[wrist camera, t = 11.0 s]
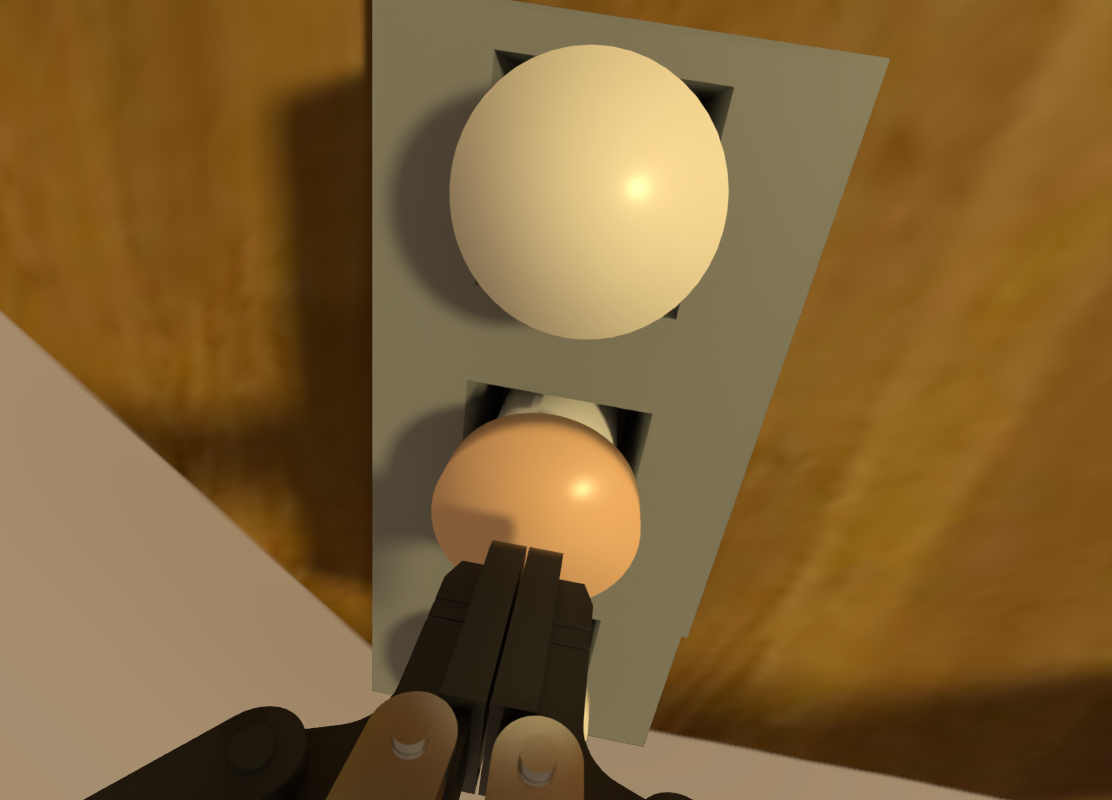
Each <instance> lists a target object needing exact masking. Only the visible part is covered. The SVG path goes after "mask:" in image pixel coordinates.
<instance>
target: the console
mask: <svg viewBox="0 0 1112 800" xmlns="http://www.w3.org/2000/svg"><path fill="white" fill-rule="evenodd" d="M578 45H603V46H613V47H617V48H621V49H625V50H630V51H633V52H635V53H638V54H640V55H642V56H645V57H647V58H650V59H652V60H653V61H655V62H657V63H658V64H660V65H662V66H663V67H665V68H667V69H668V70H669V71H670V72H672V73H673V74H674V75H675V76H677V77H678V78H679V79H680V80H681V81H683V82H684V83H685V84H686V86H687V87H688V88H689V89H690V90H691V91H692V92H693V93H694V94H695V95H696V97H697V98H698V99H699V101H700V102H701V104H702V105H703V107H704V108H705V110H706V111H707V113H708V114H709V116H710V118H711V120H712V122H713V124H714V126H715V128H716V131H717V133H718V136H719V139H720V142H721V145H722V148H723V151H724V155H725V161H726V166H727V171H728V188H729V195H728V208H727V215H726V220H725V225H724V230H723V233H722V236H721V239H720V242H719V245H718V248H717V251H716V253H715V255H714V257H713V259H712V261H711V263H710V265H709V267H708V269H707V270H706V272H705V273H704V275H703V276H702V278H701V279H700V281H699V282H698V284H697V285H696V286H695V287H694V288H693V290H692V291H691V292H690V293H689V294H688V296H686V297H685V298H684V299H683V300H682V301H681V302H680V303H679V304H678V305H677V306H676V307H675V308H673V309H672V310H671V311H669V312H668V313H667V314H665V315H664V316H663V317H661V318H660V319H658V320H656V321H654V322H652V323H651V324H649V325H647V326H645V327H643V328H640V329H638V330H635V331H633V332H630V333H627V334H623V335H619V336H616V337H611V338H603V339H582V340H580V339H572V338H564V337H560V336H555V335H551V334H548V333H545V332H542V331H540V330H537V329H534V328H532V327H530V326H528V325H526V324H524V323H523V322H521V321H519V320H517V319H516V318H514V317H513V316H511V315H510V314H509V313H507V312H506V311H504V310H503V309H502V308H501V307H500V306H499V305H498V304H496V303H495V302H494V301H493V300H492V299H491V298H490V297H489V296H488V294H487V293H486V292H485V291H484V290H483V289H482V288H481V286H480V285H479V283H478V282H477V281H476V279H475V278H474V276H473V275H472V273H471V272H470V270H469V268H468V266H467V264H466V262H465V260H464V258H463V256H462V254H461V251H460V248H459V246H458V243H457V240H456V237H455V233H454V229H453V225H452V219H451V211H450V177H451V169H452V163H453V159H454V155H455V151H456V147H457V144H458V142H459V139H460V137H461V134H462V131H463V129H464V127H465V125H466V123H467V121H468V120H469V118H470V116H471V114H472V112H473V111H474V109H475V108H476V107H477V105H478V104H479V102H480V101H481V100H482V98H483V97H484V95H485V94H486V93H487V92H488V91H489V90H490V89H491V88H492V87H493V86H494V85H495V84H496V83H497V82H498V81H499V80H500V79H501V78H503V77H504V76H505V75H506V74H508V73H509V72H510V71H512V70H513V69H514V68H516V67H517V66H519V65H521V64H523V63H524V62H526V61H528V60H530V59H531V58H534V57H536V56H539V55H541V54H544V53H546V52H549V51H551V50H556V49H560V48H564V47H569V46H578ZM889 61H890V58H884V57H878V56H871V55H865V54H858V53H852V52H845V51H838V50H832V49H825V48H819V47H812V46H806V45H799V44H793V43H786V42H780V41H773V40H767V39H760V38H753V37H747V36H740V35H734V34H727V33H721V32H714V31H708V30H701V29H695V28H688V27H682V26H675V25H668V24H662V23H655V22H649V21H642V20H636V19H629V18H623V17H616V16H610V15H603V14H597V13H590V12H583V11H577V10H570V9H564V8H557V7H551V6H544V5H538V4H531V3H525V2H518V1H512V0H372V654H373V655H372V656H373V658H372V661H373V662H372V668H373V670H372V671H373V672H372V677H373V678H372V680H373V683H372V684H373V685H372V690H373V691H376V692H381V693H386V694H391V695H393V694H394V692H395V690H396V688H397V686H398V684H399V682H400V680H401V677H402V675H403V673H404V670H405V668H406V666H407V663H408V661H409V659H410V656H411V654H412V651H413V649H414V647H415V644H416V642H417V640H418V637H419V635H420V633H421V630H422V628H423V626H424V623H425V621H426V619H427V618H428V614H429V612H430V609H431V607H432V605H433V602H435V598H436V595H437V593H438V590H439V588H440V586H441V583H442V581H443V579H444V576H445V575H447V574H448V573H449V572H450V571H451V570H452V569H453V568H454V565H453V564H452V563H451V562H450V561H449V560H448V558H447V557H446V555H445V554H444V552H443V551H442V549H441V547H440V545H439V543H438V541H437V538H436V535H435V532H434V529H433V523H432V517H431V505H432V498H433V494H434V491H435V487H436V485H437V483H438V481H439V479H440V477H441V475H442V473H443V471H444V469H445V467H446V466H447V464H448V462H449V460H450V458H451V456H452V455H453V453H454V451H455V450H456V448H457V447H458V446H459V444H460V443H461V442H462V441H463V440H464V439H465V438H466V437H467V436H468V435H469V434H470V433H472V432H473V431H474V430H476V429H477V428H479V427H480V426H482V425H484V424H486V423H488V422H490V421H493V420H495V419H497V416H498V414H499V412H500V410H501V408H502V406H503V403H504V401H505V399H506V397H507V395H508V393H509V390H510V388H513V389H519V390H524V391H530V392H535V393H541V394H546V395H552V396H557V397H563V398H568V399H574V400H579V401H585V402H590V403H596V404H601V405H607V406H612V407H618V427H617V449H618V450H619V451H620V452H621V453H622V455H623V456H624V458H625V459H626V461H627V462H628V463H629V465H630V467H631V469H632V471H633V473H634V475H635V478H636V482H637V485H638V489H639V496H640V522H641V530H640V541H639V546H638V549H637V552H636V555H635V558H634V559H633V561H632V563H631V565H630V567H629V568H628V569H627V571H626V572H625V573H624V574H623V576H622V577H621V578H620V579H619V580H618V581H616V582H615V583H614V584H613V585H612V586H610V587H609V588H608V589H606V590H605V591H603V592H601V593H599V594H597V595H595V596H593V597H591V598H590V599H591V601H592V604H593V615H592V627H591V639H590V649H589V663H588V676H587V684H588V687H589V692H590V707H589V721H588V734H587V735H588V736H593V737H598V738H603V739H608V740H612V741H617V742H622V743H627V744H632V745H637V746H642V747H644V744H645V740H646V738H647V735H648V732H649V729H650V726H651V723H652V720H653V717H654V714H655V712H656V709H657V706H658V703H659V700H660V697H661V694H662V691H663V688H664V685H665V682H666V680H667V677H668V674H669V671H670V668H671V665H672V662H673V659H674V656H675V653H676V650H677V647H678V645H679V642H680V639H681V636H682V637H688V634H689V631H690V629H691V626H692V623H693V620H694V617H695V614H696V611H697V609H698V606H699V603H700V600H701V597H702V594H703V591H704V589H705V586H706V583H707V580H708V577H709V574H710V571H711V569H712V566H713V563H714V560H715V557H716V554H717V551H718V549H719V546H720V543H721V540H722V537H723V534H724V531H725V529H726V526H727V523H728V520H729V517H730V514H731V512H732V509H733V506H734V503H735V500H736V497H737V494H738V492H739V489H740V486H741V483H742V480H743V477H744V474H745V472H746V469H747V466H748V463H749V460H750V457H751V454H752V452H753V449H754V446H755V443H756V440H757V437H758V434H759V432H760V429H761V426H762V423H763V420H764V417H765V414H766V412H767V409H768V406H769V403H770V400H771V397H772V395H773V392H774V389H775V386H776V383H777V380H778V377H779V375H780V372H781V369H782V366H783V363H784V360H785V357H786V355H787V352H788V349H789V346H790V343H791V340H792V337H793V335H794V332H795V329H796V326H797V323H798V320H799V317H800V315H801V312H802V309H803V306H804V303H805V300H806V297H807V295H808V292H809V289H810V286H811V283H812V280H813V278H814V275H815V272H816V269H817V266H818V263H819V260H820V258H821V255H822V252H823V249H824V246H825V243H826V240H827V238H828V235H829V232H830V229H831V226H832V223H833V220H834V218H835V215H836V212H837V209H838V206H839V203H840V200H841V198H842V195H843V192H844V189H845V186H846V183H847V181H848V178H849V175H850V172H851V169H852V166H853V163H854V161H855V158H856V155H857V152H858V149H859V146H860V143H861V141H862V138H863V135H864V132H865V129H866V126H867V123H868V121H869V118H870V115H871V112H872V109H873V106H874V103H875V101H876V98H877V95H878V92H879V89H880V86H881V83H882V81H883V78H884V75H885V72H886V69H887V66H888V64H889Z"/></svg>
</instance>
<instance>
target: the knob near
mask: <svg viewBox="0 0 1112 800" xmlns="http://www.w3.org/2000/svg"><path fill="white" fill-rule="evenodd" d="M728 195H729V188H728V171H727V166H726V161H725V155H724V151H723V148H722V145H721V142H720V139H719V136H718V133H717V131H716V128H715V126H714V124H713V122H712V120H711V118H710V116H709V114H708V113H707V111H706V110H705V108H704V107H703V105H702V104H701V102H700V101H699V99H698V98H697V97H696V95H695V94H694V93H693V92H692V91H691V90H690V89H689V88H688V87H687V86H686V84H685V83H684V82H683V81H681V80H680V79H679V78H678V77H677V76H675V75H674V74H673V73H672V72H670V71H669V70H668V69H667V68H665V67H663V66H662V65H660V64H658V63H657V62H655V61H653V60H652V59H650V58H647V57H645V56H642V55H640V54H638V53H635V52H633V51H630V50H625V49H621V48H617V47H613V46H603V45H578V46H569V47H564V48H560V49H556V50H551V51H549V52H546V53H544V54H541V55H539V56H536V57H534V58H531V59H530V60H528V61H526V62H524V63H523V64H521V65H519V66H517V67H516V68H514V69H513V70H512V71H510V72H509V73H508V74H506V75H505V76H504V77H503V78H501V79H500V80H499V81H498V82H497V83H496V84H495V85H494V86H493V87H492V88H491V89H490V90H489V91H488V92H487V93H486V94H485V95H484V97H483V98H482V100H481V101H480V102H479V104H478V105H477V107H476V108H475V109H474V111H473V112H472V114H471V116H470V118H469V120H468V121H467V123H466V125H465V127H464V129H463V131H462V134H461V137H460V139H459V142H458V144H457V147H456V151H455V155H454V159H453V163H452V169H451V177H450V211H451V219H452V225H453V229H454V233H455V237H456V240H457V243H458V246H459V248H460V251H461V254H462V256H463V258H464V260H465V262H466V264H467V266H468V268H469V270H470V272H471V273H472V275H473V276H474V278H475V279H476V281H477V282H478V283H479V285H480V286H481V288H482V289H483V290H484V291H485V292H486V293H487V294H488V296H489V297H490V298H491V299H492V300H493V301H494V302H495V303H496V304H498V305H499V306H500V307H501V308H502V309H503V310H504V311H506V312H507V313H509V314H510V315H511V316H513V317H514V318H516V319H517V320H519V321H521V322H523V323H524V324H526V325H528V326H530V327H532V328H534V329H537V330H540V331H542V332H545V333H548V334H551V335H555V336H560V337H564V338H572V339H580V340H582V339H603V338H611V337H616V336H619V335H623V334H627V333H630V332H633V331H635V330H638V329H640V328H643V327H645V326H647V325H649V324H651V323H652V322H654V321H656V320H658V319H660V318H661V317H663V316H664V315H665V314H667V313H668V312H669V311H671V310H672V309H673V308H675V307H676V306H677V305H678V304H679V303H680V302H681V301H682V300H683V299H684V298H685V297H686V296H688V294H689V293H690V292H691V291H692V290H693V288H694V287H695V286H696V285H697V284H698V282H699V281H700V279H701V278H702V276H703V275H704V273H705V272H706V270H707V269H708V267H709V265H710V263H711V261H712V259H713V257H714V255H715V253H716V251H717V248H718V245H719V242H720V239H721V236H722V233H723V230H724V225H725V220H726V215H727V208H728Z"/></svg>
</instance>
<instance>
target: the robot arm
mask: <svg viewBox="0 0 1112 800" xmlns="http://www.w3.org/2000/svg"><path fill="white" fill-rule="evenodd" d="M526 552H527V546H522V545H517V544H512V543H506V542H501V541H496V540H493V541H492V542H491V545H490V548H489V550H488V553H487V556H486V559H485V562H484V565H483V564H478V563H473V562H468V561H461V562H460V563H459V564H458V565H456V566H455V567H454V568H453V569H452V570H451V571H450V572H449V573H448V574H447V575H445V576H444V579H443V581H442V583H441V586H440V588H439V590H438V593H437V595H436V598H435V602H433V605H432V607H431V609H430V612H429V614H428V618H427V619H426V621H425V623H424V626H423V628H422V630H421V633H420V635H419V637H418V640H417V642H416V644H415V647H414V649H413V651H412V654H411V656H410V659H409V661H408V663H407V666H406V668H405V670H404V673H403V675H402V677H401V680H400V682H399V684H398V686H397V688H396V690H395V692H394V694H393V695H392V696H391V698H390V699H389V700H387V701H385V702H384V703H383V704H381V705H380V706H379V707H378V708H377V709H376V710H375V711H374V713H372V714H371V715H369V716H367V717H365V718H363V719H361V720H358V721H355V722H352V723H348V724H343V725H335V726H327V727H318V728H310V729H305V728H304V726H303V724H302V722H301V720H300V719H299V718H298V717H297V716H296V715H295V714H294V713H292V712H291V711H289V710H287V709H284V708H280V707H273V706H267V707H259V708H253V709H250V710H247V711H244V712H242V713H240V714H238V715H236V716H234V717H232V718H230V719H228V720H227V721H225V722H223V723H221V724H219V725H218V726H216V727H214V728H212V729H211V730H209V731H207V732H205V733H203V734H201V735H200V736H198V737H196V738H194V739H192V740H190V741H189V742H187V743H185V744H183V745H181V746H180V747H178V748H176V749H174V750H173V751H171V752H169V753H167V754H165V755H163V756H162V757H160V758H158V759H156V760H154V761H153V762H151V763H149V764H147V765H145V766H144V767H142V768H140V769H138V770H137V771H135V772H133V773H131V774H129V775H128V776H126V777H124V778H122V779H120V780H118V781H117V782H115V783H113V784H111V785H109V786H108V787H106V788H104V789H102V790H100V791H98V792H97V793H95V794H93V795H91V796H90V797H88V798H86V799H84V800H459V798H460V794H461V791H462V792H467V793H472V794H475V789H476V785H477V781H478V777H479V773H480V769H481V765H482V771H481V779H480V786H479V795H482V796H485V800H692V799H690V798H688V797H686V796H683V795H681V794H677V793H671V792H667V793H666V792H665V793H658V794H654V795H652V796H650V797H648V798H647V799H644V798H642V797H640V796H639V795H637V794H635V793H634V792H632V791H630V790H629V789H627V788H625V787H624V786H622V785H620V784H618V783H617V782H616V781H614V780H612V779H611V778H610V777H609V776H607V774H605V773H604V772H603V771H602V770H601V768H600V767H599V766H598V765H597V764H596V762H595V761H594V759H593V758H592V756H591V754H590V752H589V750H588V748H587V745H586V741H585V737H584V712H585V700H586V688H587V676H588V663H589V649H590V639H591V627H592V615H593V604H592V601H591V599H590V596H589V594H588V591H587V589H586V586H585V584H582V583H577V582H571V581H566V580H561V579H560V573H561V567H562V560H563V554H564V553H559V552H554V551H549V550H544V549H538V548H533V547H529V551H528V555H527V559H526ZM525 559H526V563H525ZM524 566H525V567H524ZM482 760H483V764H482Z"/></svg>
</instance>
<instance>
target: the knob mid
mask: <svg viewBox="0 0 1112 800" xmlns="http://www.w3.org/2000/svg"><path fill="white" fill-rule="evenodd" d="M617 427H618V407H612V406H607V405H601V404H596V403H590V402H585V401H579V400H574V399H568V398H563V397H557V396H552V395H546V394H541V393H535V392H530V391H524V390H519V389H513V388H510V390H509V393H508V395H507V397H506V399H505V401H504V403H503V406H502V408H501V410H500V412H499V414H498V416H497V419H495V420H493V421H490V422H488V423H486V424H484V425H482V426H480V427H479V428H477V429H476V430H474V431H473V432H472V433H470V434H469V435H468V436H467V437H466V438H465V439H464V440H463V441H462V442H461V443H460V444H459V446H458V447H457V448H456V450H455V451H454V453H453V455H452V456H451V458H450V460H449V462H448V464H447V466H446V467H445V469H444V471H443V473H442V475H441V477H440V479H439V481H438V483H437V485H436V487H435V491H434V494H433V498H432V505H431V517H432V523H433V529H434V532H435V535H436V538H437V541H438V543H439V545H440V547H441V549H442V551H443V552H444V554H445V555H446V557H447V558H448V560H449V561H450V562H451V563H452V564H453V565H454V567H455V566H456V565H458V564H459V563H460V562H461V561H468V562H473V563H478V564H483V565H484V562H485V559H486V556H487V553H488V550H489V548H490V545H491V542H492V541H493V540H496V541H501V542H506V543H512V544H517V545H522V546H527V552H526V559H527V555H528V551H529V547H533V548H538V549H544V550H549V551H554V552H559V553H564V554H563V560H562V567H561V573H560V579H561V580H566V581H571V582H577V583H582V584H585V586H586V589H587V591H588V594H589V596H590V598H591V597H593V596H595V595H597V594H599V593H601V592H603V591H605V590H606V589H608V588H609V587H610V586H612V585H613V584H614V583H615V582H616V581H618V580H619V579H620V578H621V577H622V576H623V574H624V573H625V572H626V571H627V569H628V568H629V567H630V565H631V563H632V561H633V559H634V558H635V555H636V552H637V549H638V546H639V541H640V530H641V522H640V496H639V489H638V485H637V482H636V478H635V475H634V473H633V471H632V469H631V467H630V465H629V463H628V462H627V461H626V459H625V458H624V456H623V455H622V453H621V452H620V451H619V450H618V449H617ZM526 559H525V563H526ZM524 567H525V566H524Z"/></svg>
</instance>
